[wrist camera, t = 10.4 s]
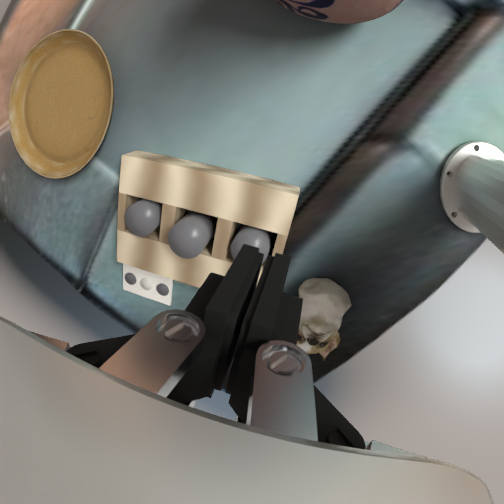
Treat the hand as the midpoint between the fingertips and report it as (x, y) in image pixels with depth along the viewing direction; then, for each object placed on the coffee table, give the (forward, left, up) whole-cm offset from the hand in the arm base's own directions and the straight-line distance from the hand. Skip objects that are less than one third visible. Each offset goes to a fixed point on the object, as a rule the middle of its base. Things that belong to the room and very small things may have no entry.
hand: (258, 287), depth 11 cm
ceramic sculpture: (-8, +20, -31) cm, 38 cm away
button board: (+10, +11, -30) cm, 34 cm away
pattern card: (+18, +24, -30) cm, 43 cm away
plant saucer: (+37, -3, -31) cm, 48 cm away
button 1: (+18, +11, -30) cm, 37 cm away
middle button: (+10, +11, -28) cm, 32 cm away
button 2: (+3, +11, -30) cm, 32 cm away
